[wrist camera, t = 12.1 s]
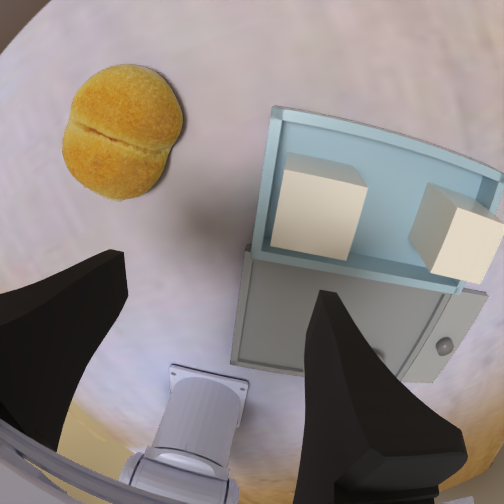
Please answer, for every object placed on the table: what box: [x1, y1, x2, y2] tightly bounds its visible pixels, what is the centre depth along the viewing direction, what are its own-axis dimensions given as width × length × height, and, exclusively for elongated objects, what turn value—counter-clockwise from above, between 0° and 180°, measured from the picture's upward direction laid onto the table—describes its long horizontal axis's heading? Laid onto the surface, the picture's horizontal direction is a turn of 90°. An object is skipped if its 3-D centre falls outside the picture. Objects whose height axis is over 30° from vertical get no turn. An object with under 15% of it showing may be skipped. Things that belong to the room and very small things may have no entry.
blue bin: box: [250, 105, 504, 295], centre depth 18 cm, size 9×15×2 cm, turn 82°
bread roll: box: [62, 64, 183, 202], centre depth 17 cm, size 8×9×4 cm
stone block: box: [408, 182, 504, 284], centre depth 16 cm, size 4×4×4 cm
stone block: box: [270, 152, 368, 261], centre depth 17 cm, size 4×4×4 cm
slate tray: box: [230, 245, 489, 383], centre depth 24 cm, size 12×20×1 cm, turn 83°
